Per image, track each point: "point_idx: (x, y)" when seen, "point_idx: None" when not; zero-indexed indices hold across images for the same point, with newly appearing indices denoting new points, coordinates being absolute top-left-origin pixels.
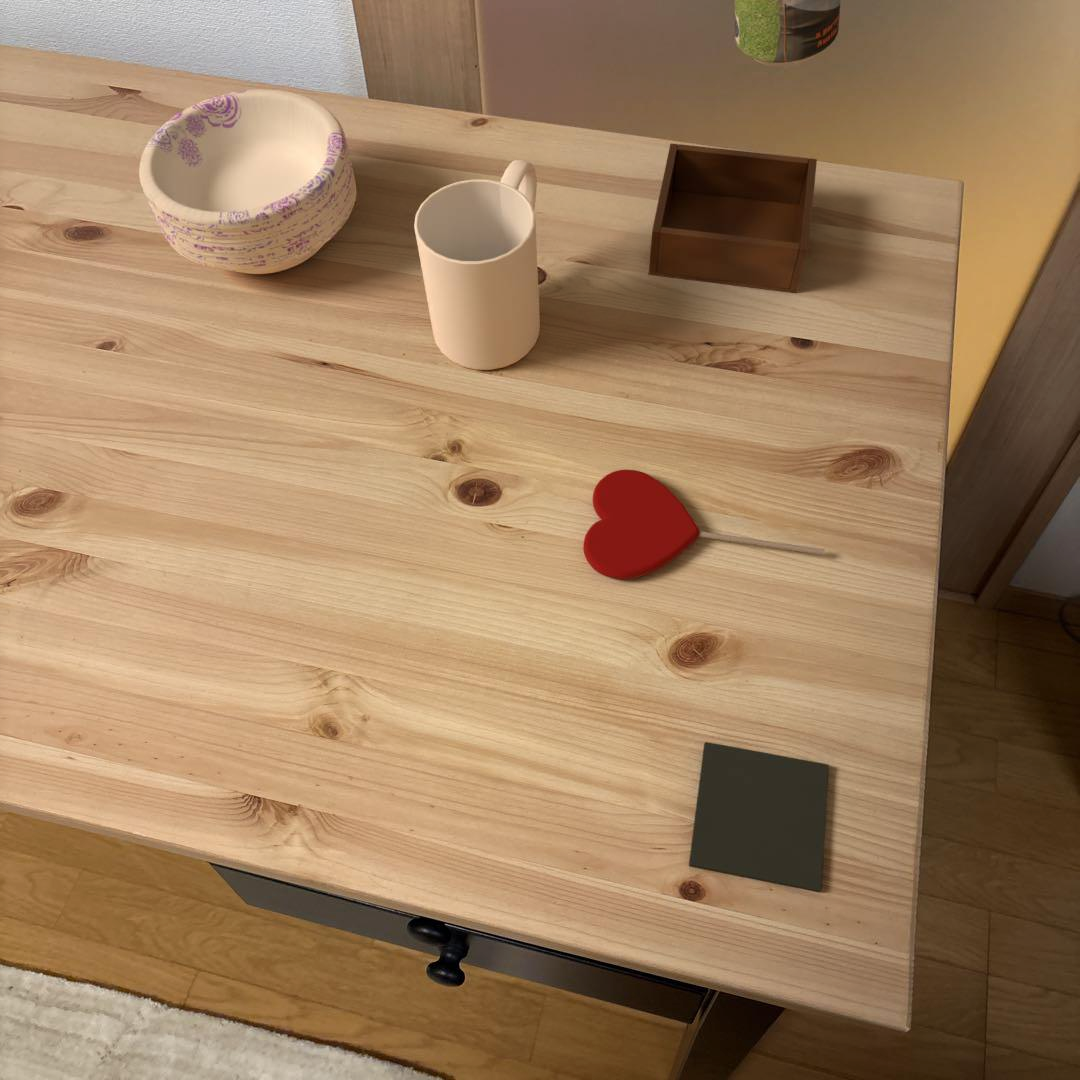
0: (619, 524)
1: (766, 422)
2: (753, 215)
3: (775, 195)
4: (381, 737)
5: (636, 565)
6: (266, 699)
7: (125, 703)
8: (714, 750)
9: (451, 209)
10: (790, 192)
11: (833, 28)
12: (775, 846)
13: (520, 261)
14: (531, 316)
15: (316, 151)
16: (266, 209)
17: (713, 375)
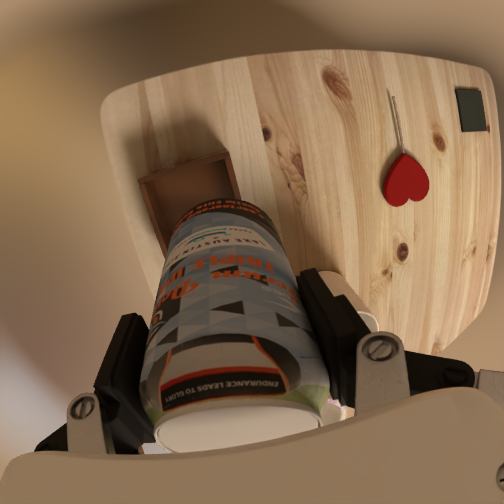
0: (412, 189)
1: (330, 137)
2: (175, 200)
3: (156, 194)
4: (475, 234)
5: (425, 175)
6: (468, 272)
7: (468, 303)
8: (464, 128)
9: None
10: (152, 186)
11: (235, 204)
12: (477, 105)
13: (359, 305)
14: (334, 281)
15: None
16: (336, 402)
17: (310, 174)
